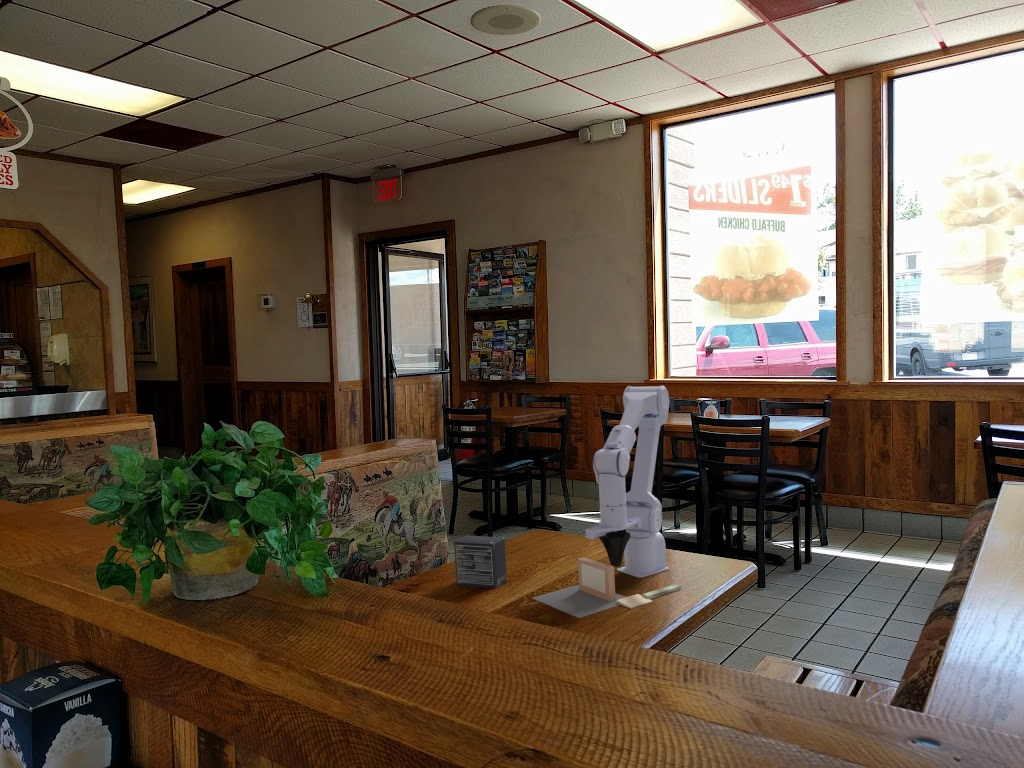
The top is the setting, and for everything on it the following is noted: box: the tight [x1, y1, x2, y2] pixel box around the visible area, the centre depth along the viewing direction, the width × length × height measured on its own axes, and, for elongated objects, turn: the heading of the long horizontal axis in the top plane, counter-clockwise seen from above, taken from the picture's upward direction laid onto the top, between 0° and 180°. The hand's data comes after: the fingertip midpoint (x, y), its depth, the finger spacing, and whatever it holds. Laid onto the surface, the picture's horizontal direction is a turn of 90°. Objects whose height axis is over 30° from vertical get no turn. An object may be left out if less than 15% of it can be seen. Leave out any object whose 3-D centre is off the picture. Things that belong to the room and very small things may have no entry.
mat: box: [532, 584, 627, 619], centre depth 166 cm, size 15×16×1 cm
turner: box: [617, 583, 682, 610], centre depth 165 cm, size 16×4×1 cm, turn 124°
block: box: [577, 556, 616, 601], centre depth 168 cm, size 2×10×7 cm, turn 34°
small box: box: [453, 535, 508, 589], centre depth 181 cm, size 11×6×10 cm, turn 65°
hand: (615, 565), depth 171 cm, fingers closed
